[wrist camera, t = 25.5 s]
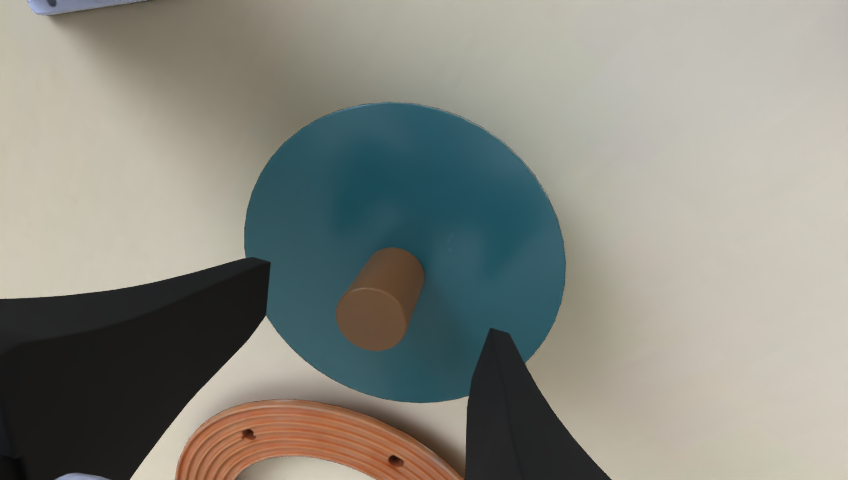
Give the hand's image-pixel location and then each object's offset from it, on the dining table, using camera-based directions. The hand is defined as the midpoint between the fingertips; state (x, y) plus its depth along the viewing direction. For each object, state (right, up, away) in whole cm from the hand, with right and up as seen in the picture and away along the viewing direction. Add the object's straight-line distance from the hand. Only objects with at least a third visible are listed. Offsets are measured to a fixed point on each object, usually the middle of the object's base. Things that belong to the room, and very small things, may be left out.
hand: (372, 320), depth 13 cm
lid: (+1, +1, +4) cm, 4 cm away
